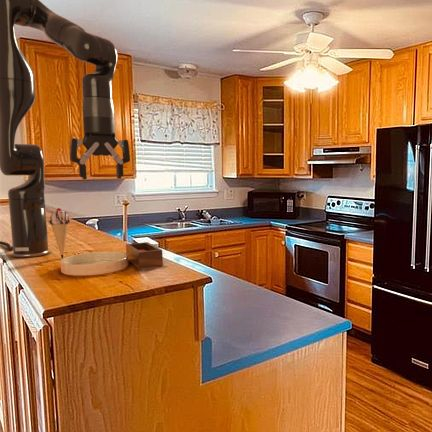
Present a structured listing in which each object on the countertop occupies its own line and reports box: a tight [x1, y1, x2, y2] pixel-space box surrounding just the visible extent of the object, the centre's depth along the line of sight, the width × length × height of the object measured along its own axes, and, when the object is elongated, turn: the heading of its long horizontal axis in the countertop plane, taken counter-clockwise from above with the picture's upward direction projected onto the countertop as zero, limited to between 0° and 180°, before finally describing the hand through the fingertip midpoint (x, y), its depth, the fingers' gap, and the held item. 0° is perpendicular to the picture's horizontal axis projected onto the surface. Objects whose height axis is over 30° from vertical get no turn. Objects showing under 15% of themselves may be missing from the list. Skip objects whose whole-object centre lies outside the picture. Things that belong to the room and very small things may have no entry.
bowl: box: [59, 250, 130, 276], centre depth 111 cm, size 16×16×3 cm
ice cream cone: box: [48, 207, 72, 259], centre depth 121 cm, size 6×6×15 cm
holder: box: [125, 241, 164, 270], centre depth 116 cm, size 14×6×5 cm, turn 34°
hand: (102, 178), depth 112 cm, fingers open, 8 cm apart
